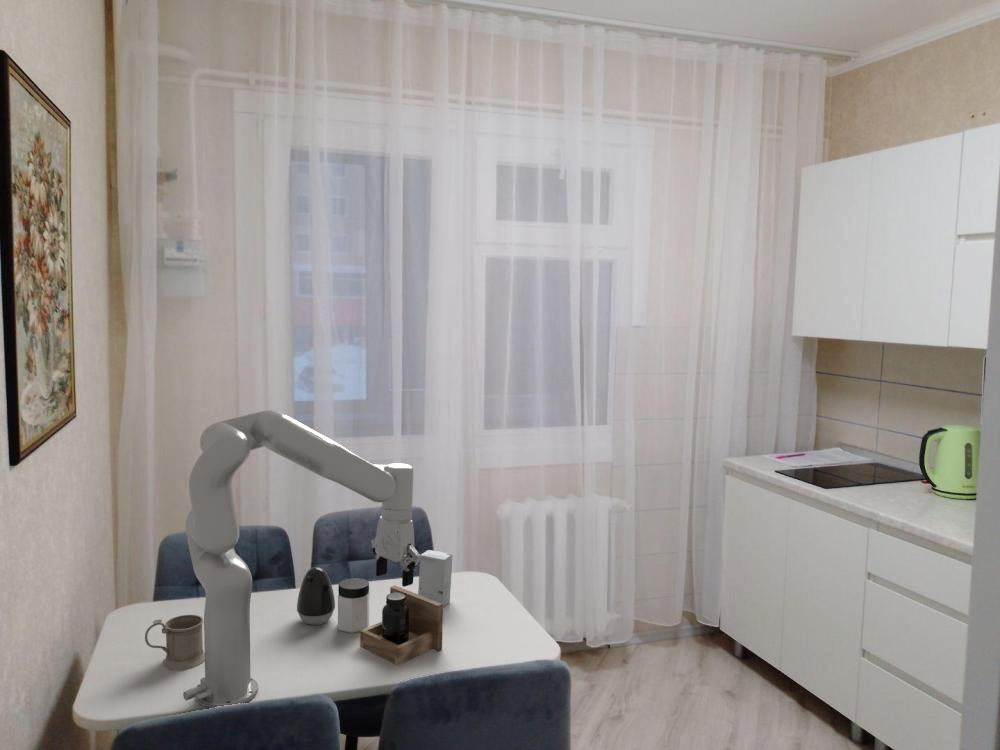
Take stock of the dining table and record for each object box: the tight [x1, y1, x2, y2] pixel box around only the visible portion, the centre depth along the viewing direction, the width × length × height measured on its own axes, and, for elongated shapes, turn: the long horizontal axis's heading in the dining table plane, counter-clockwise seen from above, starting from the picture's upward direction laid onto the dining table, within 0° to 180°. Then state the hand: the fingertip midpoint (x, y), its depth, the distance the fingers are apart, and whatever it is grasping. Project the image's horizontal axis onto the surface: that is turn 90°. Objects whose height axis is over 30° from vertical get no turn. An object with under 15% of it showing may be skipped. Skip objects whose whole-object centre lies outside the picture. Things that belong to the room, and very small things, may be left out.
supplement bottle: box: [381, 592, 409, 645], centre depth 189 cm, size 7×7×12 cm
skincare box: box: [417, 549, 454, 608], centre depth 218 cm, size 8×6×15 cm
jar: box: [337, 577, 370, 634], centre depth 202 cm, size 9×8×12 cm
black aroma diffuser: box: [296, 566, 336, 626], centre depth 204 cm, size 10×10×15 cm
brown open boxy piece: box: [359, 584, 444, 667], centre depth 190 cm, size 13×18×12 cm
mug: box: [144, 614, 205, 671], centre depth 179 cm, size 14×10×12 cm
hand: (394, 579), depth 188 cm, fingers open, 9 cm apart
